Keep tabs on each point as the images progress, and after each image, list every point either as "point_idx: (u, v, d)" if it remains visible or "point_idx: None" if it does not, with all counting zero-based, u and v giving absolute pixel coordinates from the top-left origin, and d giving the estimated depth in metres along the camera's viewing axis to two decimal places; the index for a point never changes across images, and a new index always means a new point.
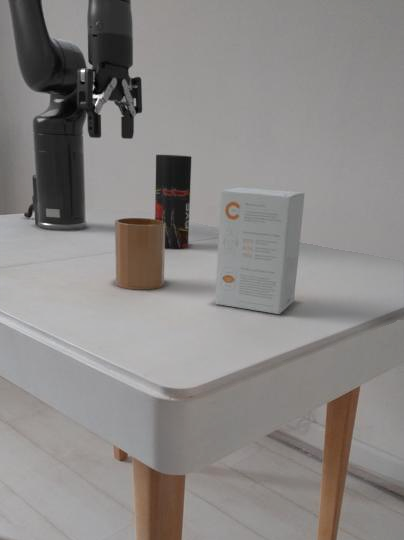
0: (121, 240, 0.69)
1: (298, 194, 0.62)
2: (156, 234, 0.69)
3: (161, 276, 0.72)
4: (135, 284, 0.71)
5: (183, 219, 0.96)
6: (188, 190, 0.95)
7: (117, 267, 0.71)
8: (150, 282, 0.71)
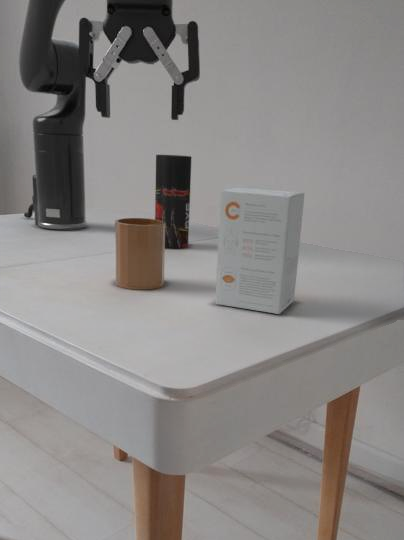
0: (121, 240, 0.69)
1: (298, 194, 0.62)
2: (156, 234, 0.69)
3: (161, 276, 0.72)
4: (135, 284, 0.71)
5: (183, 219, 0.96)
6: (188, 190, 0.95)
7: (117, 267, 0.71)
8: (150, 282, 0.71)
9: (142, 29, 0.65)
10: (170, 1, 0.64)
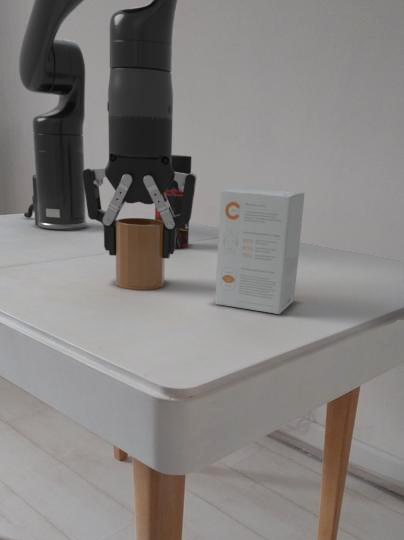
0: (121, 240, 0.69)
1: (298, 194, 0.62)
2: (156, 235, 0.69)
3: (161, 276, 0.72)
4: (135, 284, 0.71)
5: None
6: None
7: (117, 267, 0.71)
8: (150, 282, 0.71)
9: (142, 175, 0.68)
10: (169, 151, 0.67)
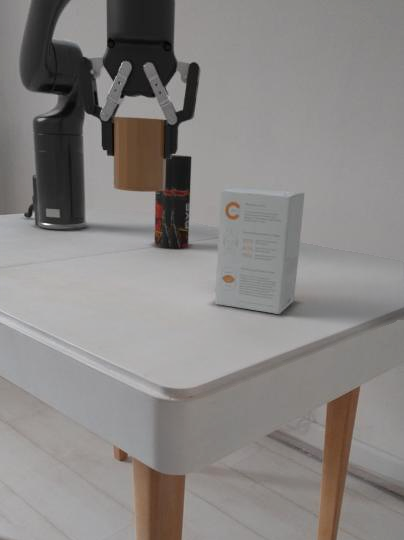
0: (120, 136, 0.65)
1: (298, 194, 0.62)
2: (157, 130, 0.65)
3: (162, 179, 0.68)
4: (134, 184, 0.66)
5: (183, 219, 0.96)
6: (188, 190, 0.95)
7: (115, 168, 0.67)
8: (151, 184, 0.67)
9: (143, 64, 0.63)
10: (172, 36, 0.62)
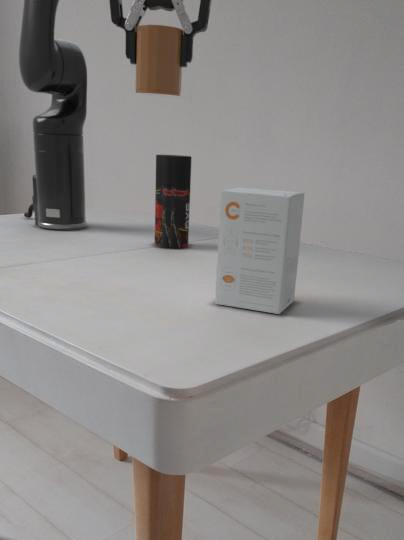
0: (142, 43, 0.74)
1: (298, 194, 0.62)
2: (174, 38, 0.74)
3: (178, 84, 0.77)
4: (154, 87, 0.75)
5: (183, 219, 0.96)
6: (188, 190, 0.95)
7: (137, 73, 0.76)
8: (168, 87, 0.76)
9: None
10: None
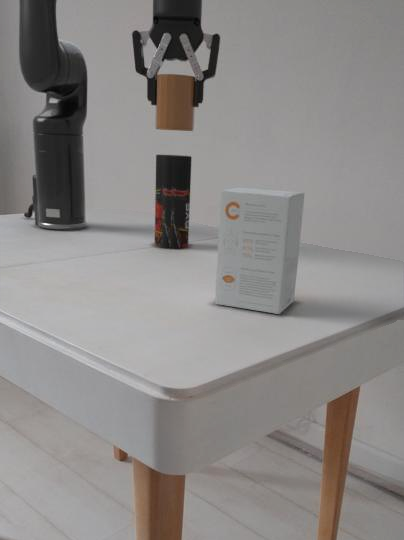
0: (161, 88, 0.89)
1: (298, 194, 0.62)
2: (189, 84, 0.88)
3: (192, 122, 0.91)
4: (172, 125, 0.90)
5: (183, 219, 0.96)
6: (188, 190, 0.95)
7: (157, 113, 0.91)
8: (184, 124, 0.90)
9: (179, 35, 0.87)
10: (200, 14, 0.86)
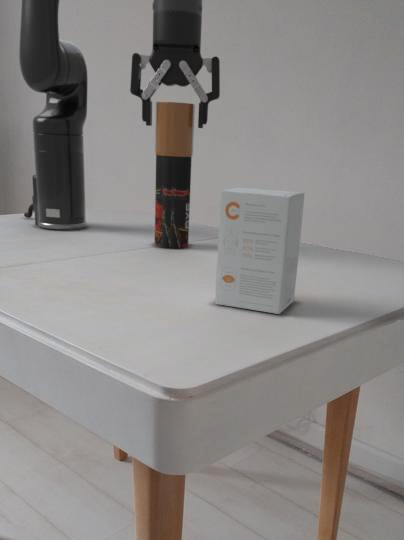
0: (161, 116, 0.90)
1: (298, 194, 0.62)
2: (188, 111, 0.90)
3: (191, 148, 0.93)
4: (171, 151, 0.91)
5: (183, 219, 0.96)
6: (188, 190, 0.95)
7: (157, 139, 0.92)
8: (183, 151, 0.92)
9: (178, 62, 0.88)
10: (199, 42, 0.87)
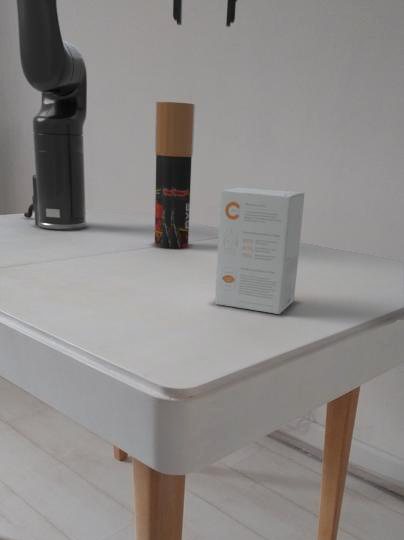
0: (161, 116, 0.90)
1: (298, 194, 0.62)
2: (188, 111, 0.90)
3: (191, 148, 0.93)
4: (171, 151, 0.91)
5: (183, 219, 0.96)
6: (188, 190, 0.95)
7: (157, 139, 0.92)
8: (183, 151, 0.92)
9: None
10: None
